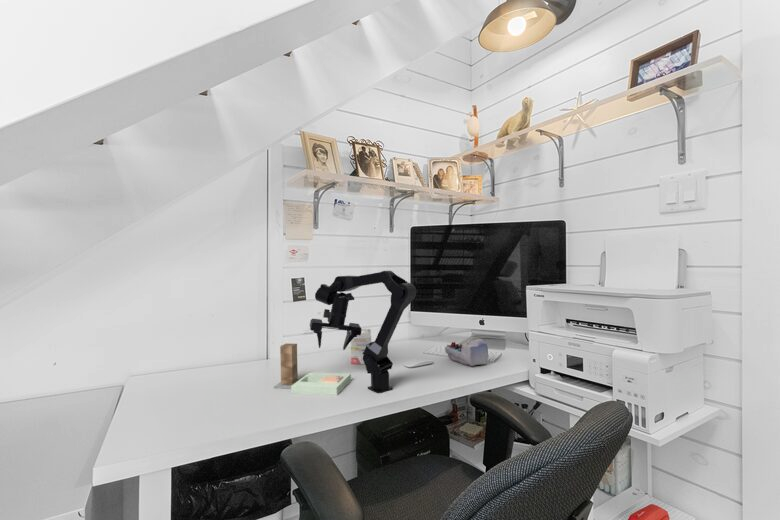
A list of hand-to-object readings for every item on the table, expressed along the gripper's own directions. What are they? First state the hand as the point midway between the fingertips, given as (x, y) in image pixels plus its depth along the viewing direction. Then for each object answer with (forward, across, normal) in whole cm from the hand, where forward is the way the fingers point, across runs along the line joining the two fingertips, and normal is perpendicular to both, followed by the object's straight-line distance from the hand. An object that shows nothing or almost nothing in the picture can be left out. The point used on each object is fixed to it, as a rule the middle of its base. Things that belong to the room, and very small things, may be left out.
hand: (331, 348), depth 141 cm
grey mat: (+14, +13, +2) cm, 20 cm away
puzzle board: (+11, +2, +8) cm, 14 cm away
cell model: (+2, -61, -4) cm, 61 cm away
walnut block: (+14, +13, +2) cm, 19 cm away
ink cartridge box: (+13, -18, -19) cm, 29 cm away
